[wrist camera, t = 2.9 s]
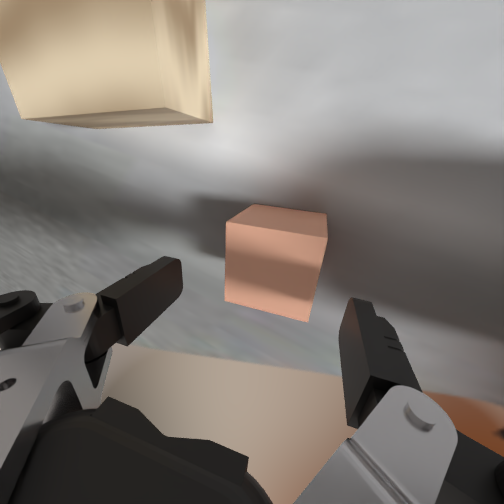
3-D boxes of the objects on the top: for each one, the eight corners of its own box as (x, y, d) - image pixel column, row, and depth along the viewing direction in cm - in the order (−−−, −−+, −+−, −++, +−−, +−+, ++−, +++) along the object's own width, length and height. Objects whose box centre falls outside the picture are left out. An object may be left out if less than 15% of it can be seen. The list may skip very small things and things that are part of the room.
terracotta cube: (254, 203, 15) (225, 221, 11) (326, 213, 14) (327, 238, 10) (249, 264, 17) (224, 300, 13) (312, 277, 16) (307, 322, 12)
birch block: (52, -62, 13) (-91, -179, 8) (199, -123, 10) (102, -344, 6) (100, 129, 17) (21, 119, 12) (214, 123, 14) (165, 107, 10)
